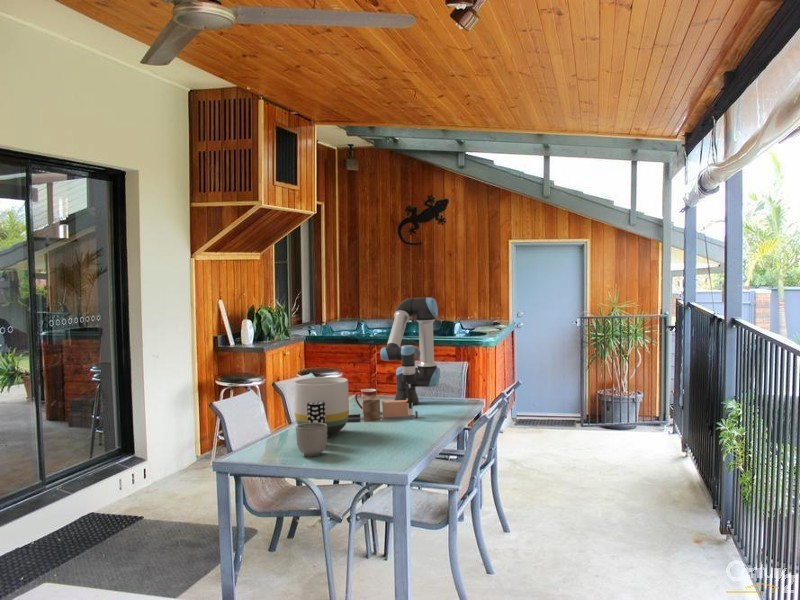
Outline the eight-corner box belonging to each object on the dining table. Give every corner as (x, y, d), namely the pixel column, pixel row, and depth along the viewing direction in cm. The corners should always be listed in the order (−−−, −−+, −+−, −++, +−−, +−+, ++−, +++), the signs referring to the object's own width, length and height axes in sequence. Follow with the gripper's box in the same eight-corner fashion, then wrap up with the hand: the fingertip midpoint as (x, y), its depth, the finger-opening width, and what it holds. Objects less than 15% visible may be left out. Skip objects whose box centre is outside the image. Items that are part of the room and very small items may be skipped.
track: (361, 420, 383) (360, 414, 383) (361, 418, 388) (360, 413, 388) (417, 418, 385) (417, 412, 385) (417, 416, 390) (416, 411, 390)
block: (382, 417, 384) (382, 402, 383) (382, 415, 389) (382, 400, 389) (412, 416, 384) (411, 401, 384) (411, 414, 390) (411, 399, 390)
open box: (363, 421, 380) (363, 400, 380) (363, 417, 392) (363, 396, 392) (380, 420, 380) (379, 399, 380) (380, 416, 392) (379, 396, 392)
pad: (382, 420, 382) (382, 419, 382) (381, 417, 391) (381, 416, 391) (413, 419, 383) (413, 418, 383) (412, 415, 392) (412, 415, 392)
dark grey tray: (343, 422, 379) (343, 419, 379) (344, 418, 391) (343, 414, 391) (360, 421, 380) (359, 418, 380) (360, 417, 392) (360, 414, 392)
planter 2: (334, 453, 311) (333, 424, 310) (310, 460, 300) (309, 430, 300) (313, 449, 320) (312, 421, 320) (290, 455, 310) (289, 426, 309)
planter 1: (360, 432, 354) (358, 378, 353) (325, 443, 332) (323, 386, 331) (319, 427, 369) (318, 375, 368) (284, 437, 347) (282, 382, 346)
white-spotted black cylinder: (304, 446, 327) (303, 403, 326) (318, 443, 332) (317, 400, 332) (315, 449, 321) (314, 405, 320) (330, 445, 327) (328, 402, 326)
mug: (379, 412, 405) (378, 389, 405) (373, 415, 397) (372, 391, 396) (359, 411, 410) (358, 388, 409) (353, 414, 401) (352, 390, 401)
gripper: (400, 371, 399) (401, 408, 399) (402, 377, 374) (404, 416, 374) (413, 370, 399) (414, 407, 400) (416, 376, 374) (418, 416, 375)
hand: (409, 412), depth 387 cm, fingers open, 13 cm apart
